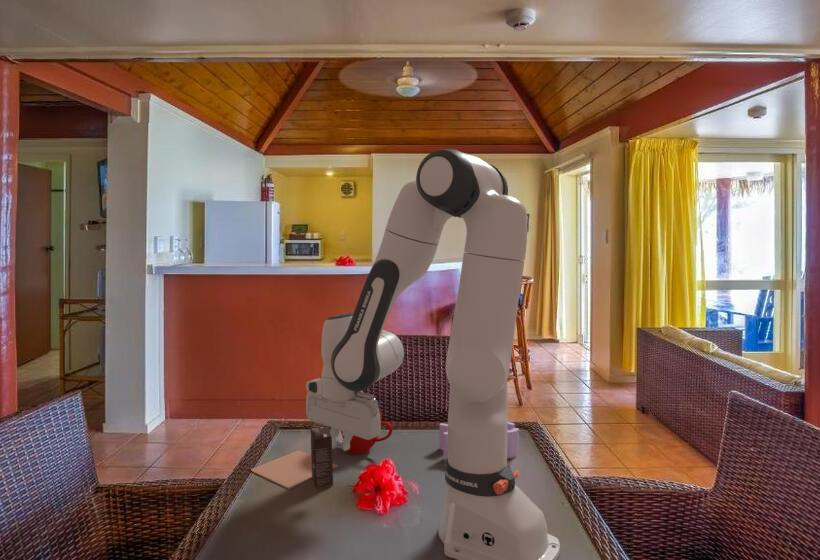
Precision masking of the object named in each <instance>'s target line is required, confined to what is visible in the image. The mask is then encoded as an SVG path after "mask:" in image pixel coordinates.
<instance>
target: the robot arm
mask: <svg viewBox="0 0 820 560" xmlns="http://www.w3.org/2000/svg"><path fill="white" fill-rule="evenodd" d="M508 194H509V185H508V181H507V179H506V177H505V175H504V174H503V173H502V171H500V170H499V168H497V167H496V166H494V165H493V164H490V163H487V162H486V161H484V160H482V159H481V158H479V157H478V156H476V155H472V154H469V153H466V152H462V151H460V150H458V149H452V148H451V149H450V148H443V149H437V150H433V151H432V152H429V154H427V155H426V156H425V157H424V158H423V159H422V160H421V162H420V164H419V166H418V168H417V171H416V174H415V180H413V181H409V182H407V183H406V184H404V185H403V186H402V188H401V189H400V191H399V193H398V195H397V197H396V199H395V202H394V204H393V206H392V207H391V208H392V209H391V211H390V213H389V214H390V215H389V216H388V219H387V222H386V226H385V230H384V233H383V237H382V241H381V243H380V247H379V249H378V251H377V255H376V257H375V260H374V262H373V264H372V267H371V269H370V271H369V273H368V274H367V277H366V280H365V282H364V285H363V286H362V289H361V293H360V295H359V297H358V301H357V303H356V306H355V308H354V312H348V313H342V314H341V313H340V314H336V315H332V316H330V317H327V319H326V320H325V321H324V323H323V327H322V332H321V345H320V346H321V349H320V351H321V358H322V362H323V363H322V364H323V366H322V369H321V377H319V378H314V379H312V380H309V381H307V382H306V384H305V389H306V391H307V393H306V396H305V398H306V399H305V413H306V417H307V419H308V420H309V421H310V422H314V423H316V424H318V425H322V426H328V428H330V434H331V436H332V438H333V439H334V447H335V448H336V449H340V450H342V451H344V452H345V451H346V450H348V449H349V448H350V441H351V439H352V437H353V435H355V436H358V437H361V438H364V439H367V440H370V439H373V438H375V437H377V436H378V435H380V434H381V433H382V425H381V422H382V421H381V422H380V414H379V410H380V409H379V402H378V400H377V399H376V398H375V397H374V395H373V394H371V393H365V392H363V391H365V390H367V389H369V388H370V387H371V386H373V384H375V383H377V382H378V381H381V380H382V379H384V378H386V377H387V376H389V375H390V374H392V373H394V372H395V371H397V370H399V368H400V367H401V366H402V365H403V362H404V359H405V347H404V344H403V342H402V340H401V339H400V337H399V336H398V335H397V334H395V333H394V332H393V331H389V330H385V329H384V328H385V324H386V322H387V319H388V316H389V314H390V310H391V308H392V306H393V304H394V303H395V301H396V300H397V298H398V297H399V296H400V295H401V294H402V293H403V292H404V291H406V289H407V288H409V287H410V286H411V285H413V284H414V283H416V282H417V281H418V280H420V279H421V278H422V277H423V276H424V275H426V273H427V272H428V270H429V268H430V266H431V265H432V263H433V262H434V261H433V260H434V258H435V256H436V253H437V250H438V247H439V243H440V240H441V236H442V234H443V233H442V232H443V229H444V226H445V224H446V223H447V222H448V220H449V219H451V218H452V217H453V218H460V219H462V220H463V221H464V223H465V227H466V235H465V236H466V237H465V242H464V248H463V249H464V250H463V256H462V262H461V269H460V275H459V281H458V282H459V283H458V284H459V285H458V289H457V294H456V295H457V296H456V297H457V298H456V300H455V301H456V302H455V307H454V312H453V318H452V323H451V331H450V335H449V341H448V347H447V354H446V359H445V373H446V374H445V375H446V377H447V381H448V383H449V398H448V399H449V400H448V411H447V412H448V414H447V415H448V416H447V424H448V457H447V458H446V460H445V462H444V464H445V468H444V479H445V483H446V490H445V501H444V505H443V512H442V516H441V520H440V523H439V527H438V529H437V530H438V531H437V532H438V537H439V539H440V541H441V542H442V544H443V552H444V555H445V556H446V557H448V558H451V559H454V560H558V559H559V556H560V554H561V544H560V540H559V538H557V537H556V536H553V535H552V534H550V533H548V526H547V525H548V524H547V522H546V521H547V520H546V518H545V515H544V512H543V511H542V510H541V509H540V508H539V507H538V506H537V505H536V504H535V502H533V501H532V500H531V499H530V498H529V497H528V496H527V495H526V494H525V493H524V492H523V490H522V489H521V488H519V487H518V486H517V485H516V481H515V480H516V479H517V478H518V477H520V469H517V470H516V471H514V472H513V471H512V469H511V466H510V463H509V462H508V460H507V459H508V458H507V422H508V379H509V375H510V369H511V368H510V367H511V363H512V362H511V361H512V355H513V346H514V339H515V330H516V323H517V313H518V308H519V305H518V304H519V299H520V293H521V286H522V279H523V276H524V275H523V274H524V267H525V261H526V255H527V254H526V253H527V246H528V245H527V244H528V213H527V209H526V207H525V205H524V204H523V203H522V202H521V201H520V200H519V199H518V198H516V197H513V196H509V195H508ZM341 431H343V436H345V437H344V439H343V437H342V434H341ZM378 437H379V436H378Z"/></svg>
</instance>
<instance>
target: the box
mask: <svg viewBox="0 0 820 560" xmlns="http://www.w3.org/2000/svg"><path fill="white" fill-rule="evenodd" d="M310 449H311V450H310V452H311V453H310V455H311V463H312V477H313V479H312V480H313V484H314V485H313V486H314V488H315V489H318V488H319V489H320V488H321V489H322V488H326V487H327V488H328V487H332V486H334V469H333V464H334V463H333V435H332V433H331V429H330V427H328V426H325V425H323V426H318V427H316V426H315V427H311V428H310Z"/></svg>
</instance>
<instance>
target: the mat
mask: <svg viewBox="0 0 820 560" xmlns="http://www.w3.org/2000/svg"><path fill="white" fill-rule="evenodd" d="M337 468H339V465H337V464H335V463H333V470H335V469H337ZM250 469H251V471H252V472H251V471H250V472H251V473H254V474H255V475H258V476H260V477H261V478H264V479H266V480H268V481H271V482H273V483H274V484H277V485H279V486H281V487H283V488H285V489H288V490H291V489H292V488H295V487H297V486H299V485H301V484H304V483H306V482H308V481H311V480H313V477H312V463H311V453H307V452H304V451H301V450H296V451H293V452H291V453H288V454H286V455H283V456H280V457H279V458H275V459H273V460H270V461H267V462H265V463H262V464H260V465H258V466H256V467H255V466H254V467H253V468H250Z"/></svg>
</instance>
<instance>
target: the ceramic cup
mask: <svg viewBox="0 0 820 560" xmlns="http://www.w3.org/2000/svg"><path fill="white" fill-rule="evenodd" d="M379 414H380V422H381V426H383V425H384V426H387V427H388V430H389V431H388V433H387V435H385V436H383V437H379V435H380V434H379V435H378V436H377V437H375V438H373V439H370V440H367V439H364V438H361V437H358V436H355V435H353V437H352V439H351V441H350V448H349V449H348V450H346V451H344V452H345V453H347V454H349V455H363V454H366V453H368V452H370V450H371V449H372V448H373V446H374V445H375V444H376V443H378V442H383V441H385V440H387V439H389V438H390V437H391V436H392V434H393V432H394V431H393V429H394V428H393V426H392V424H391V423H390V422H389V421H385V420H384V421H382V411H381V410H380V409H379ZM341 434H342V437H343V439H344V437H345V436H343V431H341Z"/></svg>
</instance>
